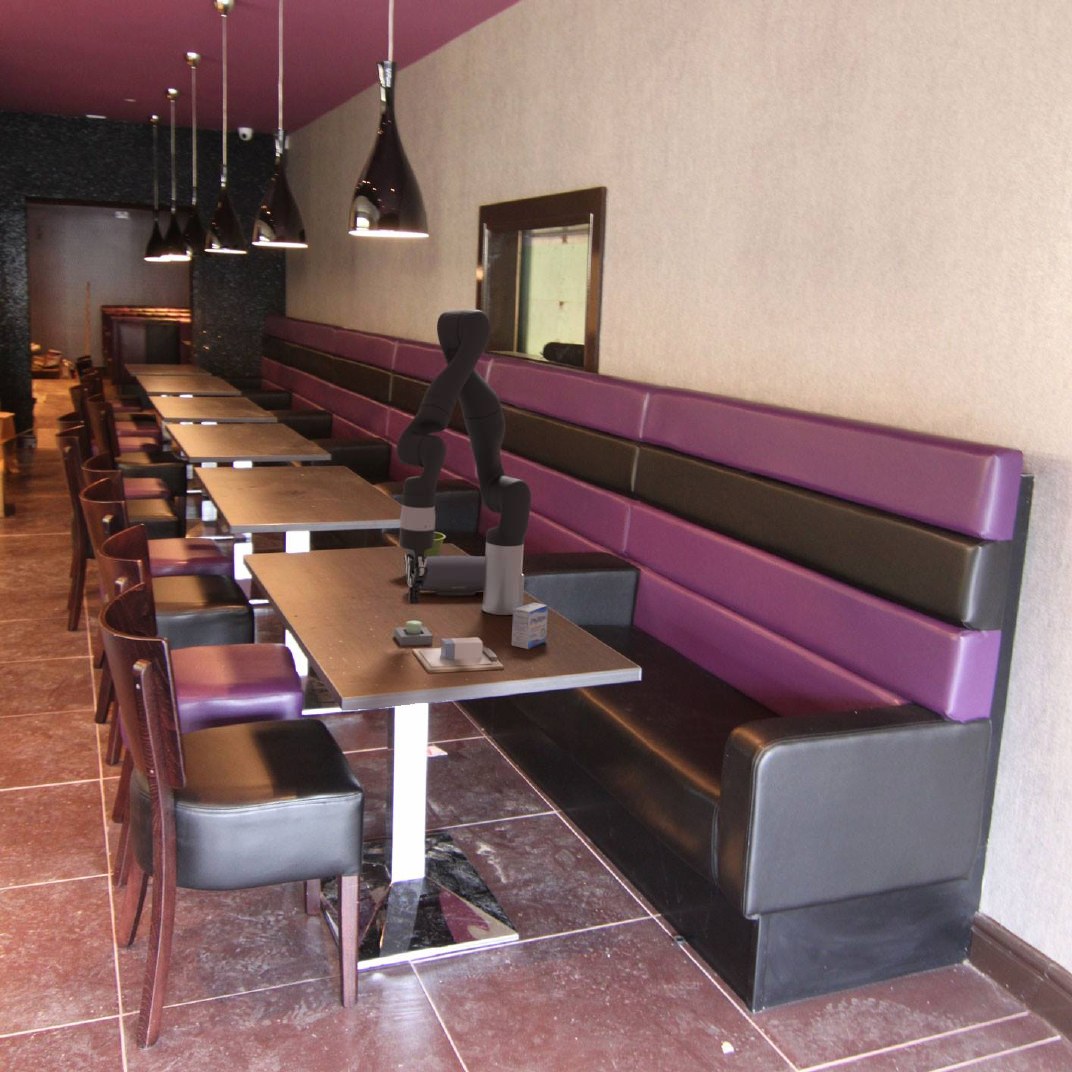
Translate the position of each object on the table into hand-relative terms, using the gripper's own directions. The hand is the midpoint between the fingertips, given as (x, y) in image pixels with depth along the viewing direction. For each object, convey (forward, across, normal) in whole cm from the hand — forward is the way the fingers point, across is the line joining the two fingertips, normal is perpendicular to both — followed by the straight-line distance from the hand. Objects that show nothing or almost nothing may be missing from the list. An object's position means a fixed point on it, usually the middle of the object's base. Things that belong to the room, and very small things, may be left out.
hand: (413, 602), depth 246 cm
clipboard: (+9, -15, -6) cm, 18 cm away
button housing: (+9, 0, 0) cm, 9 cm away
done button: (+7, 0, 0) cm, 7 cm away
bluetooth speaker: (+8, +38, -20) cm, 44 cm away
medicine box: (+9, -6, -25) cm, 27 cm away
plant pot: (+8, +58, -16) cm, 61 cm away
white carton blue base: (+8, -15, -7) cm, 18 cm away
